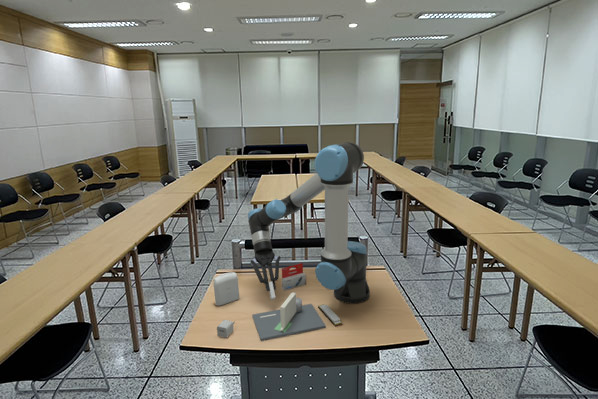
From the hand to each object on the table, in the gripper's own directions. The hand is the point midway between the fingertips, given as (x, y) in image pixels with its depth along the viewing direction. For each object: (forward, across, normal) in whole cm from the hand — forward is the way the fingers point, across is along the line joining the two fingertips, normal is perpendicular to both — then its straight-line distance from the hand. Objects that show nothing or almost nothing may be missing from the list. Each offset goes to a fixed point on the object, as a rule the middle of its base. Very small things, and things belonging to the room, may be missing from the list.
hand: (273, 298), depth 147 cm
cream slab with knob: (+10, -4, +5) cm, 11 cm away
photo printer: (-5, +16, -13) cm, 22 cm away
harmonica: (+12, -19, +4) cm, 23 cm away
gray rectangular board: (+11, -3, +3) cm, 12 cm away
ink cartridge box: (-7, -13, -15) cm, 22 cm away
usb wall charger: (+10, +19, +2) cm, 21 cm away
